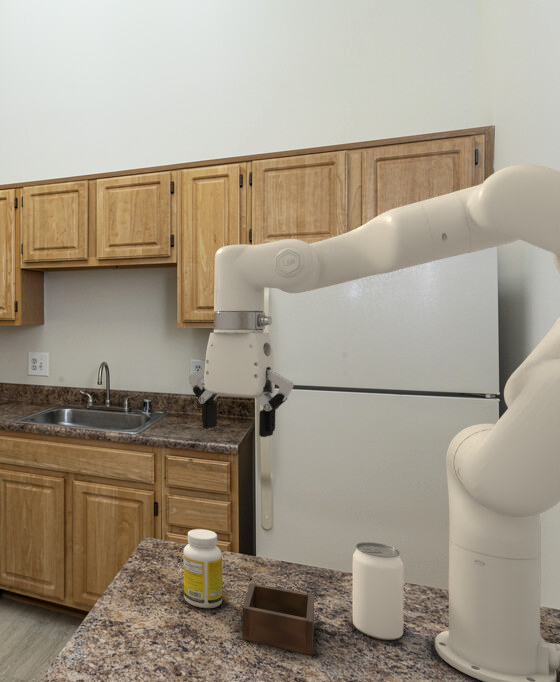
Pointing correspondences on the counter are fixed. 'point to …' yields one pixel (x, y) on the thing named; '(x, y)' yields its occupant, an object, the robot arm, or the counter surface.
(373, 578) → the can
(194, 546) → the pill bottle
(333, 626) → the counter surface
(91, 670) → the counter surface
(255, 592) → the box
